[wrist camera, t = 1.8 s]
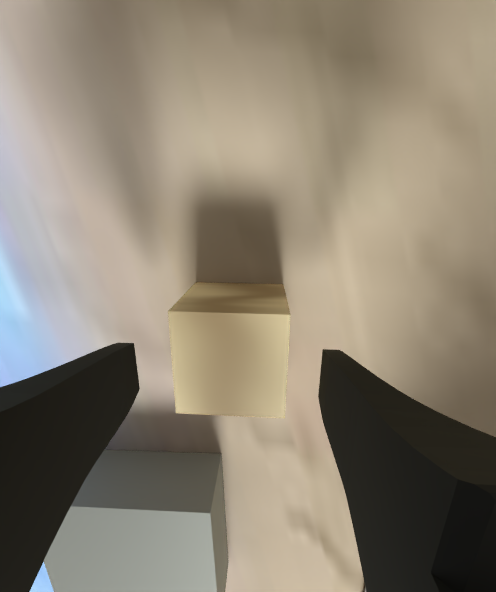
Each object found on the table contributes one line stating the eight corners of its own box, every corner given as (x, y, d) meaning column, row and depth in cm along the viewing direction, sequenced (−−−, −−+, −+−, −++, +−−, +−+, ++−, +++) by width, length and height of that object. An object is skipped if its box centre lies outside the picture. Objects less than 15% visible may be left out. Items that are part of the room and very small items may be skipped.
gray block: (222, 449, 18) (210, 513, 14) (228, 556, 21) (220, 633, 17) (73, 444, 19) (24, 504, 15) (99, 548, 22) (64, 621, 18)
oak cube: (283, 283, 15) (290, 314, 10) (279, 361, 16) (284, 418, 12) (196, 282, 15) (168, 311, 10) (199, 359, 16) (175, 413, 12)
